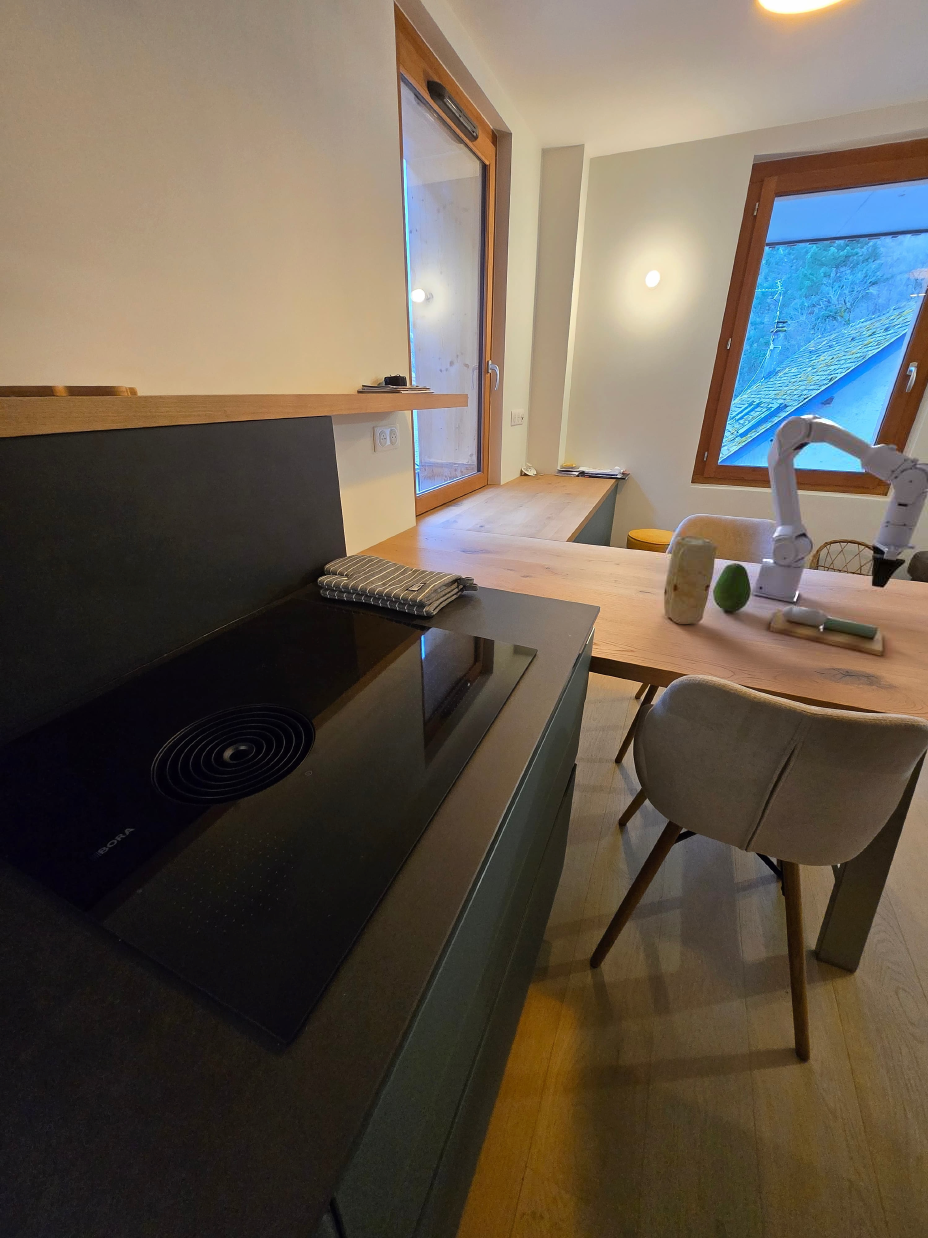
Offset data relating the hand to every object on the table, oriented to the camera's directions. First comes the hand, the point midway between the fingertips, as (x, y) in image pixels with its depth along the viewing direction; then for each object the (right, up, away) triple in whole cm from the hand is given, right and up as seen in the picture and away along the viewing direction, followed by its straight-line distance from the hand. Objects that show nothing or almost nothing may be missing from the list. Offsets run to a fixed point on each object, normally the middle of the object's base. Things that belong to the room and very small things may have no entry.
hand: (877, 581), depth 112 cm
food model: (-43, -9, +5) cm, 44 cm away
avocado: (-29, -7, +10) cm, 31 cm away
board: (-14, -12, -2) cm, 18 cm away
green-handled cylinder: (-14, -11, -3) cm, 18 cm away
